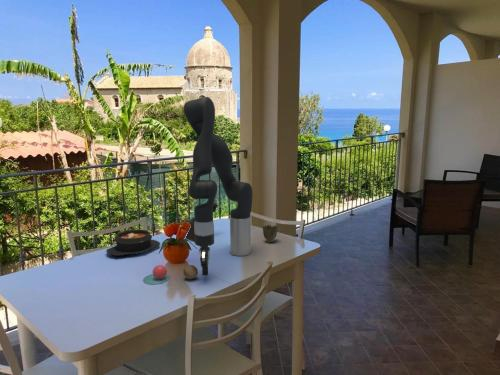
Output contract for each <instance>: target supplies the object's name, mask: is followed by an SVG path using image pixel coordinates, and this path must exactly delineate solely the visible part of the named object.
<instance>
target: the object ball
mask: <svg viewBox="0 0 500 375" xmlns="http://www.w3.org/2000/svg"><path fill="white" fill-rule="evenodd" d="M152 274H153V276H154V277H155V278H156V279H159V280H160V279H163V278H165V277H166V275H168V269H167V267H166V266H164V265H162V264H158V265H155V266H154V267H153V270H152Z"/></svg>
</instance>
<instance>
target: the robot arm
mask: <svg viewBox="0 0 500 375" xmlns="http://www.w3.org/2000/svg"><path fill="white" fill-rule="evenodd" d="M183 112H184V116H185V118H186V120H187V121H188V124H189V125H190V127H191V129H192V131H194V133H195V135H196V136H197V137H198V139H197V141H196V143H195V145H194V148H193V152H192V174H191V179H190V182H189V186H188V195H189V196H190V198H191V199H193V200H207V201H206V202H204V203H200V204H197V205H196V206H195V207H194V209H193V210H194V211H193V212H194V213H193V214H194V217H195V223H194V239H195V242H194V245H195V246H198V247H199V249H198V254H199V261H200V267H201V272H202V273H201V275H202V276H208V275H209V264H210V263H209V262H210V257H211V256H210V255H211V254H210V253H211V246H213V245H214V244H215V224H214V223H215V222H214V212H213V205H214V203H215V200H216V197H217V193H218V184H217V183H216V181H215V180H214V179H201V180H200V178H201V177H202V176H206V175H209V174H211V173H212V171H213V170H212V169H213V168H214V170H215V172H216V174H217V175H218V178H219V179H220V183H221V185H222V188H223V190H224V193H225V195H226V197H227V198H228V200H230V201H232V202H236V203H237V206H236V207H235V208H233V209H230V212H229V228H230V229H229V230H230V254H231V255H233V256H236V257H242V256H243V257H244V256H248V255H250V254H251V213H252V209H253V187H252V185H251V184H250V183H248V182H244V181H238V180H237V179H236V178H235V176H234V173H233V171H232V168H233V162H234V161H233V160H234V157H233V155H232V152H231V150H230V148H229V145H228V144H227V142H226V141H225V140H224V139H223V138H221V137H220V136H218V135H217V134H215V133H214V128H215V121H216V108H215V103H214V101H213V100H212V99H211V98H210V96H209V97H208V96H204V97H199V98H196V99H191V100H188V101H186V102H185V103H184V104H183Z"/></svg>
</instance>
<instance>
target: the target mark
mask: <svg viewBox="0 0 500 375" xmlns="http://www.w3.org/2000/svg"><path fill="white" fill-rule="evenodd" d="M169 280H170V276H169V274H167V275H166V277H165V278H163V279H160V280H159V279H156V278H155V277H154V276H153V273H151V274H148V275H146V276H145V277H143V278H142V281H143V283H144V284H146V285H154V286H155V285H162V284H165V283H166V282H168V281H169Z"/></svg>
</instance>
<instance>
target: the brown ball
mask: <svg viewBox="0 0 500 375" xmlns="http://www.w3.org/2000/svg"><path fill="white" fill-rule="evenodd" d="M198 273H199V270H198V268H197V267H196V266H195V265H193V264H189V265H186V266H185V267H184V269H183V276H184V277H185V279H187V280H189V281H191V280H194V279H196V277H198Z"/></svg>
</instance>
